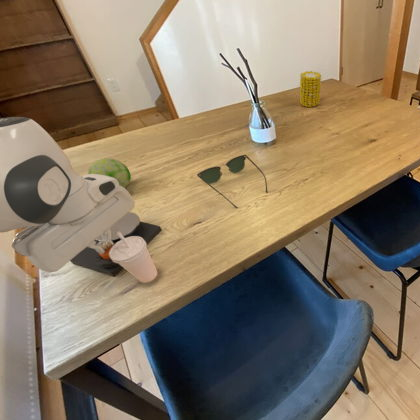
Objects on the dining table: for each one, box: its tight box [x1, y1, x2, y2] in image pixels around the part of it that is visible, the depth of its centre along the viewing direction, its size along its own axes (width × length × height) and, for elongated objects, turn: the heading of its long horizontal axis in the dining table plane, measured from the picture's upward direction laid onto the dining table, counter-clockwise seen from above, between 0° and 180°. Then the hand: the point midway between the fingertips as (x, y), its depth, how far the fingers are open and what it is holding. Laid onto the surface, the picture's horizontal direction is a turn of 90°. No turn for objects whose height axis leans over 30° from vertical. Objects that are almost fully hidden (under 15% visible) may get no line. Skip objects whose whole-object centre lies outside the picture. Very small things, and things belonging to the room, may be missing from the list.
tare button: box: [99, 246, 113, 260], centre depth 62 cm, size 3×3×2 cm
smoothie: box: [109, 232, 158, 284], centre depth 56 cm, size 6×6×14 cm
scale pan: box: [96, 211, 141, 242], centre depth 68 cm, size 10×10×1 cm
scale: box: [69, 220, 163, 278], centre depth 66 cm, size 15×12×3 cm
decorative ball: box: [87, 157, 132, 189], centre depth 81 cm, size 10×10×10 cm
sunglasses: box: [196, 154, 268, 209], centre depth 83 cm, size 16×17×5 cm
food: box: [299, 70, 322, 108], centre depth 127 cm, size 15×12×10 cm
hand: (106, 248), depth 61 cm, fingers closed
